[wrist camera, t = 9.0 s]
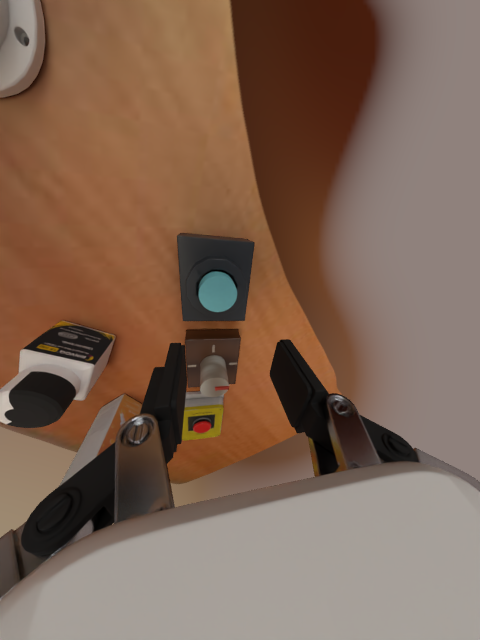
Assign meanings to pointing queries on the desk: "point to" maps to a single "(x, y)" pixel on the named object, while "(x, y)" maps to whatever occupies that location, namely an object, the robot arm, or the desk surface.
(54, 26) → the desk surface
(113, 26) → the desk surface
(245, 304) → the button housing
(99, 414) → the small box
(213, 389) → the dial
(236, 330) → the rotary knob switch
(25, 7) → the robot arm
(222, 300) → the teal button cap
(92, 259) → the desk surface
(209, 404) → the emergency button
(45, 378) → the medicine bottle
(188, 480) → the desk surface
